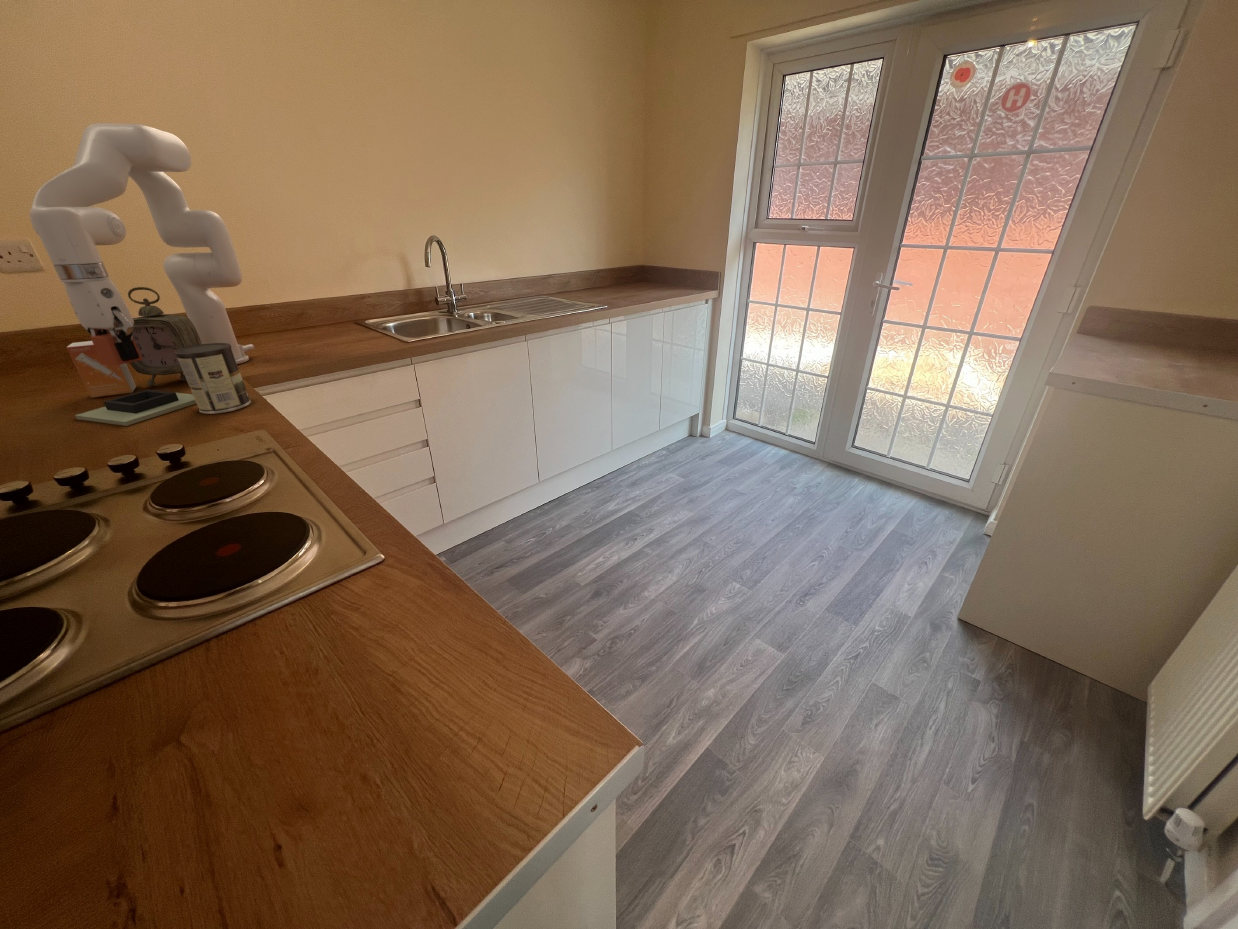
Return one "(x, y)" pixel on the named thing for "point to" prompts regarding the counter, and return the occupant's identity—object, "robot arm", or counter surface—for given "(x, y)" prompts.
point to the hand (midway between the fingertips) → (121, 358)
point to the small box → (100, 371)
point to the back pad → (138, 407)
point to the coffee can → (213, 377)
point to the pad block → (110, 349)
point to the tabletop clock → (160, 339)
